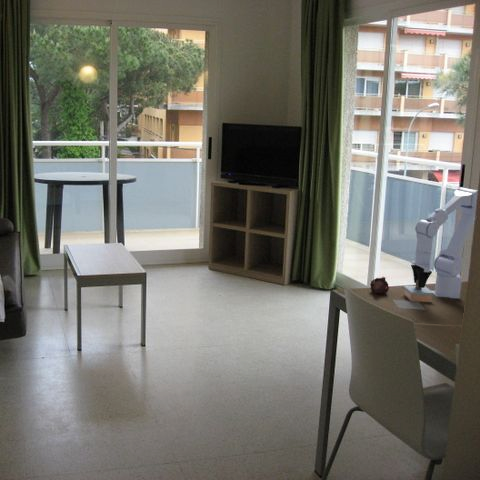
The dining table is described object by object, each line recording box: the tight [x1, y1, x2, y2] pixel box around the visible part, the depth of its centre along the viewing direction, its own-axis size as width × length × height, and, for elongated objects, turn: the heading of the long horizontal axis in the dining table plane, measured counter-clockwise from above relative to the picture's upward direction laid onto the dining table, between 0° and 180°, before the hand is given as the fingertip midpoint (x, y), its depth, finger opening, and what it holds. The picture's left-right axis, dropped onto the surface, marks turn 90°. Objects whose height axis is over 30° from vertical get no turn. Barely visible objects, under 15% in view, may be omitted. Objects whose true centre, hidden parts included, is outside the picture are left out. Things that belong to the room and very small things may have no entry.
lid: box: [402, 280, 435, 296], centre depth 266 cm, size 9×9×4 cm
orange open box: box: [404, 289, 433, 303], centre depth 267 cm, size 8×8×4 cm
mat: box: [392, 299, 426, 311], centre depth 258 cm, size 10×10×1 cm
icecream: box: [370, 276, 390, 295], centre depth 271 cm, size 7×7×15 cm
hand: (419, 285), depth 266 cm, fingers open, 5 cm apart
